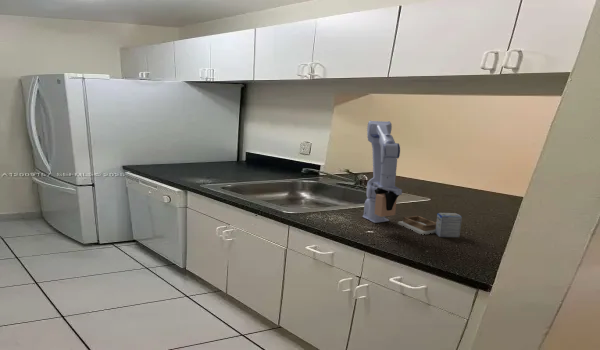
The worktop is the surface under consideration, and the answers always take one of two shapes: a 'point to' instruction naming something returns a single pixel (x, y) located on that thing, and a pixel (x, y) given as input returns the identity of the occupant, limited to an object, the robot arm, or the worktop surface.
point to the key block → (383, 206)
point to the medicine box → (448, 224)
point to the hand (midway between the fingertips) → (385, 208)
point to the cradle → (419, 224)
